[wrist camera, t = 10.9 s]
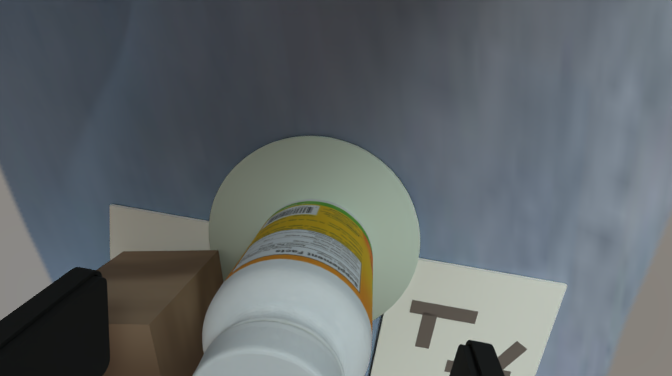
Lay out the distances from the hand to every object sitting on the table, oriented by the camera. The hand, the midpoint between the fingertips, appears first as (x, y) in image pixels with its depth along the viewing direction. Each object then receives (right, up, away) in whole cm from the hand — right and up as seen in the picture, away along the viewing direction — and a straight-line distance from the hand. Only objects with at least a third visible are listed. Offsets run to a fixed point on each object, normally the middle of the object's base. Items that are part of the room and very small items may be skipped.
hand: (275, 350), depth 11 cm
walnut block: (-6, -1, +10) cm, 12 cm away
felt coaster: (+1, +2, +9) cm, 9 cm away
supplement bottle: (+1, +1, +9) cm, 9 cm away
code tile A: (+8, -3, +10) cm, 13 cm away
